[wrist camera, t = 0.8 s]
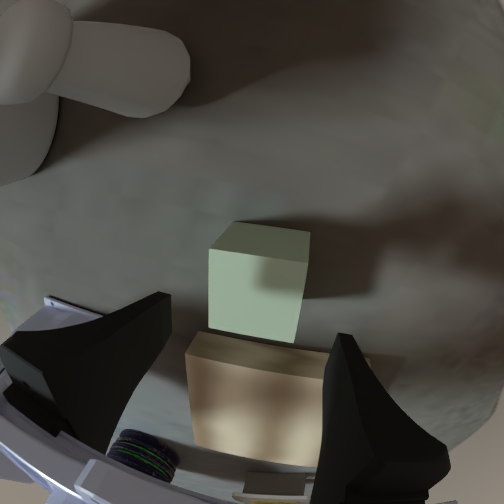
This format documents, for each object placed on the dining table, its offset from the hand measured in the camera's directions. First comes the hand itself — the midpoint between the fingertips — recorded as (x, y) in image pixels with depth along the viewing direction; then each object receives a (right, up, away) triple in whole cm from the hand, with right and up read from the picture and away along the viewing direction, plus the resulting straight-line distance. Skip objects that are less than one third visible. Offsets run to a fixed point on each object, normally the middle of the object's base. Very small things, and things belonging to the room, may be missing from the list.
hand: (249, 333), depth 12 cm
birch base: (+2, -10, +13) cm, 17 cm away
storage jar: (-15, -25, +23) cm, 38 cm away
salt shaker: (-6, +15, +5) cm, 17 cm away
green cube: (+1, +3, +8) cm, 9 cm away
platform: (+4, -26, +20) cm, 33 cm away
